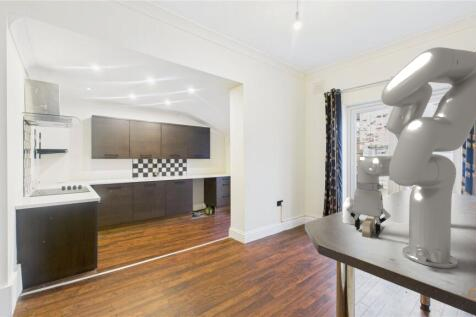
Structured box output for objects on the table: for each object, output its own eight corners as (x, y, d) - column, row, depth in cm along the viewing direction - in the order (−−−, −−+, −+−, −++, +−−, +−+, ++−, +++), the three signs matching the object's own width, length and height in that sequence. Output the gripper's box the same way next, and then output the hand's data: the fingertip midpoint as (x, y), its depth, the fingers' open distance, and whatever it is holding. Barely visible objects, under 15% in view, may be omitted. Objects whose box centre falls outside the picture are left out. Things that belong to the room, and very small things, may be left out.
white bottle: (357, 196, 103) (357, 198, 98) (357, 222, 103) (357, 225, 98) (343, 195, 105) (342, 197, 101) (342, 220, 106) (342, 223, 101)
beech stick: (369, 238, 83) (369, 225, 83) (362, 236, 85) (362, 223, 85) (375, 226, 98) (375, 214, 98) (368, 225, 99) (368, 214, 99)
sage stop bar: (363, 223, 101) (363, 220, 101) (340, 218, 108) (340, 216, 108) (364, 222, 102) (364, 219, 102) (342, 218, 109) (342, 215, 109)
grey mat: (408, 244, 77) (408, 242, 77) (378, 238, 83) (378, 236, 83) (414, 226, 96) (414, 225, 96) (389, 222, 102) (389, 220, 102)
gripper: (395, 188, 86) (394, 234, 86) (347, 184, 97) (347, 224, 98) (392, 190, 80) (391, 239, 81) (342, 185, 92) (341, 228, 92)
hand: (367, 230), depth 89 cm, fingers open, 6 cm apart
